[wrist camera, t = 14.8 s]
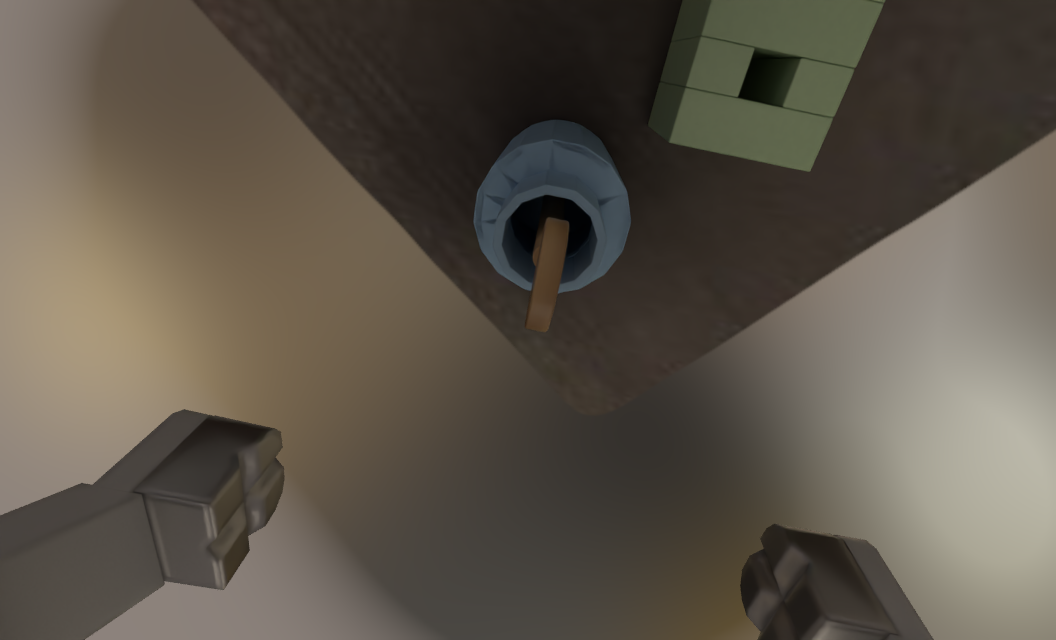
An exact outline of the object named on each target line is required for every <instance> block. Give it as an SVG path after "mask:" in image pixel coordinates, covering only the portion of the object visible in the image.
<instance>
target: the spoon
mask: <svg viewBox="0 0 1056 640" xmlns="http://www.w3.org/2000/svg"><path fill="white" fill-rule="evenodd" d="M564 216H565V198H561V197H556V196H551V195H544V197H543V202H542V208H541V213H540V219H539V224H538V230H537V235H536V241H535V246H534V252H533V262H534V265H535V266H536V268H535V273H534V278H533V283H532V288H531V293H530V298H529V304H528V309H527V315H526V320H525V328H526V329H531V330H536V331H541V332H546V331H547V330H548V328H549V325H550V322H551V319H552V315H553V311H554V307H555V303H556V299H557V295H558V290H559V286H560V281H561V276H562V271H563V266H564V261H565V255H566V249H567V243H568V235H569V222H568V221H565V220H564Z"/></svg>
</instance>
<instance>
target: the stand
mask: <svg viewBox="0 0 1056 640" xmlns="http://www.w3.org/2000/svg"><path fill="white" fill-rule="evenodd" d="M885 1H886V0H683V1H682V4H681V8H680V11H679V15H678V19H677V22H676V26H675V29H674V33H673V36H672V42H671V43H670V47H669V51H668V54H667V58H666V61H665V65H664V68H663V72H662V76H661V79H660V81H661V82H660V83H659V86H658V90H657V93H656V97H655V101H654V104H653V108H652V111H651V115H650V118H649V122H648V126H649V127H650V128H651V129H653V130H654V131H655V132H656V133H658V134H659V135H660V136H662V137H663V138H664V139H665V140H667V141H668V142H669V143H672V144H677V145H682V146H687V147H691V148H696V149H701V150H706V151H711V152H715V153H720V154H725V155H730V156H735V157H739V158H744V159H749V160H754V161H759V162H763V163H768V164H773V165H778V166H783V167H787V168H792V169H797V170H802V171H807V172H809V171H810V170H811V168H812V166H813V163H814V161H815V159H816V157H817V154H818V152H819V150H820V148H821V145H822V143H823V141H824V138H825V136H826V134H827V132H828V129H829V127H830V125H831V123H832V120H833V119H832V117H834V116H835V113H836V111H837V109H838V107H839V104H840V102H841V100H842V98H843V95H844V93H845V91H846V89H847V86H848V84H849V82H850V79H851V77H852V75H853V73H854V69H853V68H855V67H856V66H857V64H858V62H859V59H860V57H861V55H862V52H863V50H864V48H865V46H866V43H867V41H868V39H869V37H870V34H871V32H872V30H873V28H874V25H875V23H876V21H877V19H878V16H879V14H880V12H881V9H882V7H883V4H882V3H884V2H885ZM736 97H737V98H736Z"/></svg>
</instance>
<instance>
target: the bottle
mask: <svg viewBox="0 0 1056 640" xmlns="http://www.w3.org/2000/svg"><path fill="white" fill-rule="evenodd" d="M544 195H551V196H556V197H561V198H565V216H564V220H565V221H568V222H569V235H568V243H567V249H566V255H565V261H564V266H563V271H562V276H561V281H560V286H559V290H558V293H561V292H565V291H571V290H578V289H580V288H582V287H584V286H586V285H587V284H589V283H591V282H592V281H594V280H596V279H598V278H599V277H601V276H603V275H604V274H605V273H606V272H607V271H608V269H609V268H610V267H611V266H612V264H613V263H614V262H615V261H616V259H617V258H618V257H619V256H620V254H621V253H622V251H623V249H624V245H625V242H626V238H627V235H628V232H629V228H630V225H631V217H630V209H629V201H628V193H627V190H626V188H625V186H624V184H623V181H622V179H621V177H620V175H619V173H618V171H617V169H616V166H615V164H614V162H613V160H612V158H611V156H610V155H609V153H608V151H607V149H606V148H605V146H604V144H603V143H602V141H601V139H600V138H599V137H597V136H596V135H595V134H593V133H592V132H591V131H590V130H588V129H587V128H585V127H583V126H582V125H580V124H577V123H574V122H570V121H565V120H548V121H543V122H540V123H536V124H533V125H531V126H529V127H528V128H526V129H525V130H523V131H522V132H521V133H520V134H518V135H517V136H516V137H514V138H513V139H512V140H511V141H510V143H509V144H508V146H507V147H506V148H505V150H504V151H503V152H502V154H501V155H500V156H499V158H498V159H497V161H496V162H495V163H494V165H493V166H492V168H491V169H490V171H489V173H488V174H487V176H486V178H485V179H484V181H483V183H482V184H481V186H480V188H479V189H478V192H477V198H476V205H475V213H474V226H475V229H476V233H477V237H478V241H479V245H480V248H481V251H482V252H483V253H484V255H485V256H486V257H487V259H488V260H489V261H490V263H491V264H492V265H493V267H494V268H495V269H496V271H497V272H498V273H499V274H501V275H502V276H504V277H505V278H507V279H509V280H510V281H512V282H513V283H515V284H517V285H518V286H520V287H521V288H523V289H525V290H530V291H531V288H532V283H533V278H534V273H535V268H536V266H535V265H534V262H533V252H534V246H535V241H536V235H537V230H538V224H539V219H540V213H541V208H542V202H543V197H544Z"/></svg>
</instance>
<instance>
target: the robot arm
mask: <svg viewBox="0 0 1056 640" xmlns="http://www.w3.org/2000/svg"><path fill="white" fill-rule="evenodd" d="M282 447H283V446H282V438H281V432H280V431H278V430H277V429H275V428H270V427H265V426H261V425H256V424H252V423H247V422H242V421H238V420H233V419H229V418H224V417H219V416H212V415H207V414H202V413H198V412H193V411H189V410H181V411H178V412H176V413H173V414H172V415H170V416H169V417H168V418H167V419H166V420H165V421H164V422H162V423H161V424H160V425H159V426H158V427H157V428H156V429H155V430H154V431H152V432H151V433H150V434H149V435H148V436H147V437H146V438H145V439H143V440H142V441H141V442H140V443H139V444H138V445H137V446H135V447H134V448H133V449H132V450H131V451H130V452H129V453H128V454H127V455H125V456H124V457H123V458H122V459H121V460H120V461H119V462H118V463H116V464H115V466H113V467H112V468H111V469H110V470H109V471H107V472H106V473H105V474H104V475H103V476H102V477H101V478H100V479H99V480H98V481H96V482H95V483H94V484H93V485H90V484H83V483H81V484H78V485H76V486H73V487H71V488H68V489H66V490H63V491H61V492H59V493H56V494H53V495H51V496H48V497H46V498H43V499H41V500H38V501H36V502H33V503H31V504H28V505H26V506H23V507H20V508H18V509H15V510H13V511H10V512H8V513H5V514H3V515H0V640H85V639H86V638H87V637H89V636H91V635H92V634H93V633H95V632H96V631H98V630H99V629H101V628H102V627H104V626H105V625H107V624H108V623H110V622H111V621H112V620H114V619H115V618H117V617H118V616H120V615H121V614H123V613H124V612H126V611H127V610H128V609H130V608H131V607H133V606H134V605H136V604H137V603H139V602H140V601H142V600H143V599H145V598H146V597H147V596H149V595H150V594H152V593H153V592H155V591H156V590H158V589H159V588H161V587H162V586H163V585H164V581H168V582H174V583H180V584H187V585H194V586H201V587H207V588H214V589H220V590H224V589H225V587H226V586H227V584H228V583H229V581H230V580H231V578H232V577H233V575H234V573H235V572H236V570H237V569H238V567H239V566H240V564H241V562H242V561H243V560H244V558H245V557H246V555H247V554H248V552H249V550H250V549H249V541H248V536H249V535H251V534H252V533H254V532H256V531H257V530H259V529H261V528H263V527H264V526H266V524H267V523H268V521H269V519H270V517H271V516H272V514H273V513H274V511H275V509H276V507H277V504H278V501H279V499H280V497H281V494H282V490H283V484H284V467H283V466H282V465H281V463H280V462H279V461H278V460H277V459H276V456H277V454H278V453H279V452H280V450H281V448H282ZM761 542H762V545H763V547H764V549H763V550H760V551H758V552H756V553H754V554H752V555H750V556H749V558H748V560H747V562H746V563H745V565H744V567H743V569H742V577H741V585H740V586H741V596H742V602H743V605H744V608H745V612H746V615H747V617H748V618H749V619H750V620H751V621H752V622H753V623H754V625H755V626H756V627H757V628H758V629H759V630H760V631H761V632H760V635H759V637H758V640H934V639H933V638H932V636H931V635H930V633H929V632H928V630H927V628H926V627H925V625H924V624H923V622H922V621H921V619H920V617H919V616H918V614H917V613H916V611H915V609H914V608H913V606H912V605H911V603H910V602H909V600H908V598H907V597H906V595H905V594H904V592H903V591H902V589H901V587H900V586H899V584H898V583H897V581H896V579H895V578H894V576H893V575H892V573H891V572H890V570H889V568H888V567H887V565H886V564H885V562H884V560H883V559H882V557H881V556H880V554H879V552H878V551H877V549H876V548H875V547H874V546H872V545H871V544H870V543H869V542H868V541H866V540H861V539H856V538H850V537H845V536H839V535H832V534H828V533H822V532H817V531H812V530H806V529H801V528H795V527H790V526H784V525H779V524H773V525H771V526H770V527H768V528H767V529H766V530H765V532H764V533H763V535H762V536H761Z"/></svg>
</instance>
